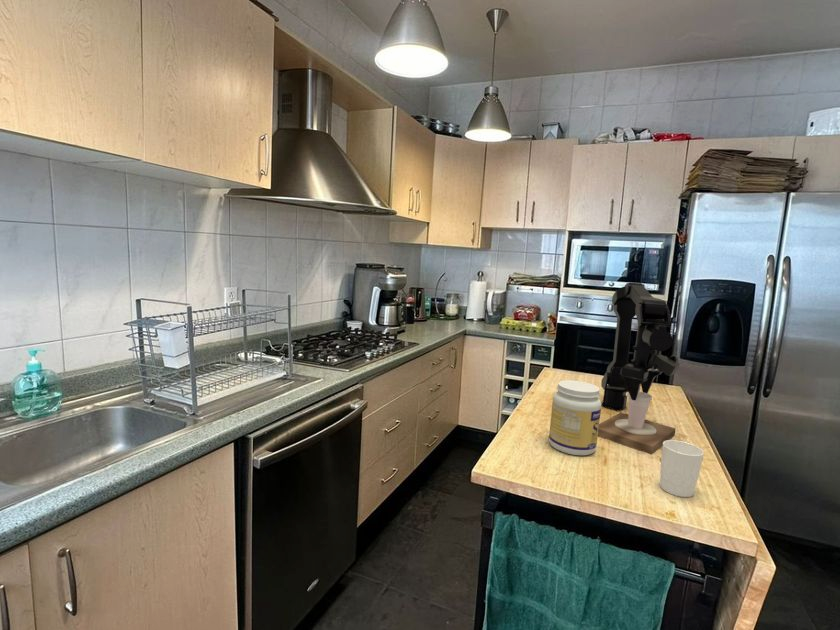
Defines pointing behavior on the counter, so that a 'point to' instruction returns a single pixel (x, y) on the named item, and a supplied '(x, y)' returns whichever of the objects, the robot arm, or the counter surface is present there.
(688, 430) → the counter surface
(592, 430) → the supplement tub
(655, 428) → the walnut base
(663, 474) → the white cup
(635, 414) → the smoothie
